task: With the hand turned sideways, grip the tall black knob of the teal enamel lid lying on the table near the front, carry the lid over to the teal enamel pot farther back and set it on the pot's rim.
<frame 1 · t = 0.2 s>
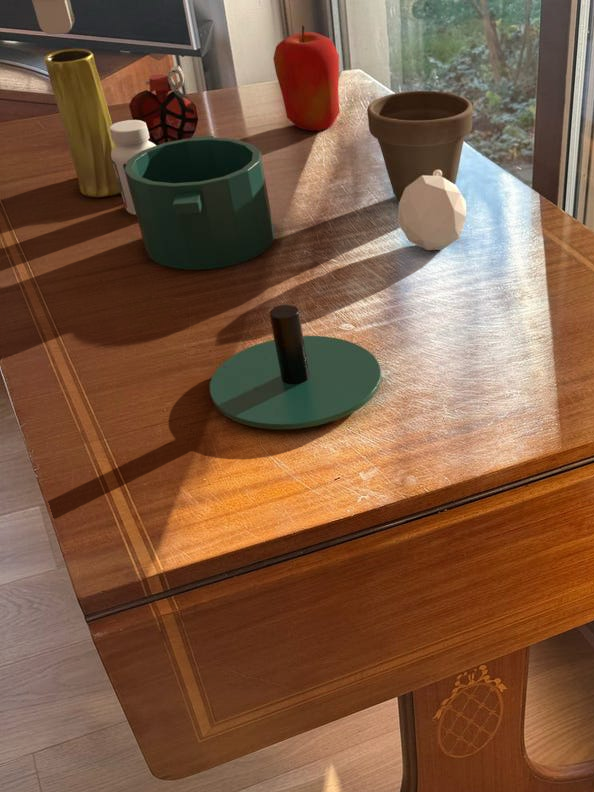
hand: (73, 12, 62), 29 cm above the table, tool pointing down, fingers open, 8 cm apart
flower pot: (425, 200, 114), on the table
ornament: (434, 247, 105), on the table
vase: (106, 190, 119), on the table
grenade: (174, 157, 126), on the table
pill bottle: (149, 209, 114), on the table
lid: (296, 382, 84), point 1 cm above the table
pot: (211, 242, 107), on the table
apple: (315, 127, 133), on the table
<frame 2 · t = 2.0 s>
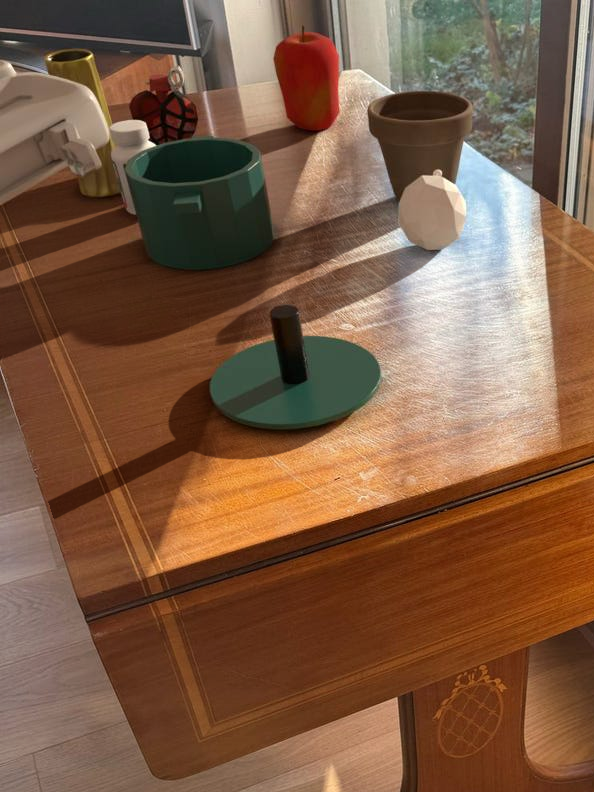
hand: (33, 193, 64), 20 cm above the table, tool horizontal, fingers open, 8 cm apart
nothing on the table moved.
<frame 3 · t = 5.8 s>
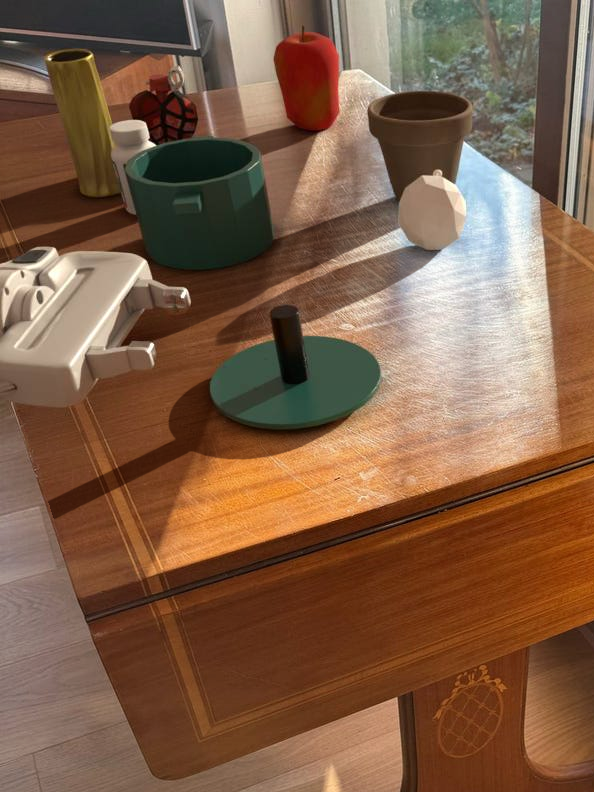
hand: (171, 327, 82), 5 cm above the table, tool horizontal, fingers open, 8 cm apart
nothing on the table moved.
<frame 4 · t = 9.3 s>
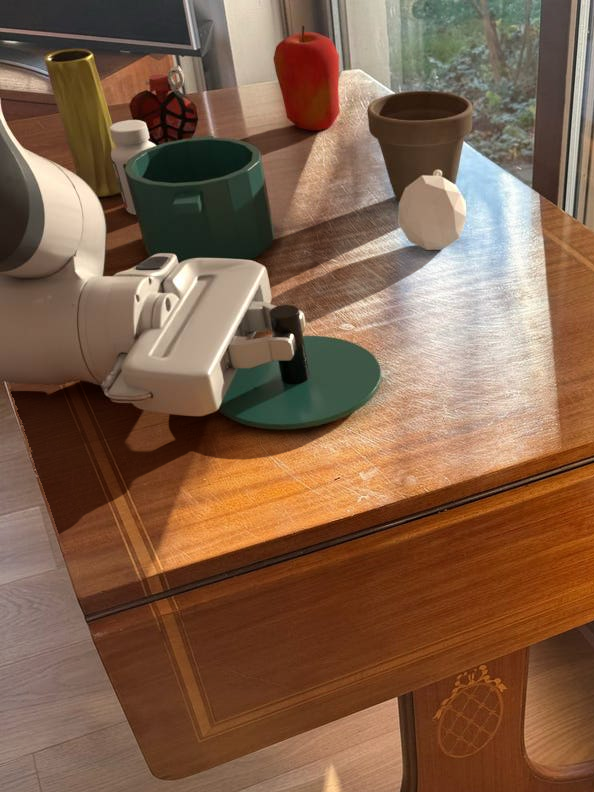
hand: (298, 334, 81), 5 cm above the table, tool horizontal, fingers closed on lid, 2 cm apart
lid: (296, 382, 84), point 1 cm above the table, touching gripper
everything else where it was.
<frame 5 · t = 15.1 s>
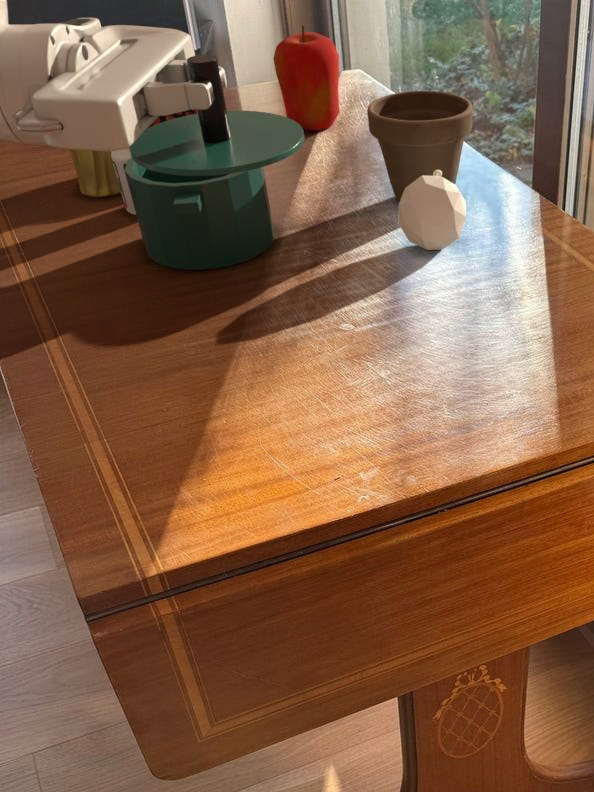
hand: (217, 87, 80), 20 cm above the table, tool horizontal, fingers closed on lid, 2 cm apart
lid: (218, 144, 84), point 15 cm above the table, touching gripper
everything else where it was.
when the fingers open (13 cm above the table, at t = 20.9 s): lid stays where it is, resting on pot.
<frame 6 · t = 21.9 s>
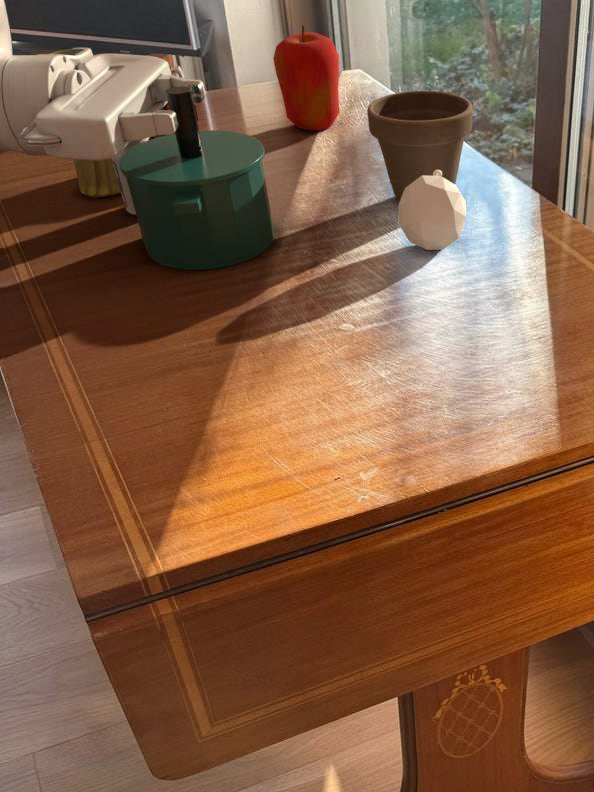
hand: (189, 106, 97), 14 cm above the table, tool horizontal, fingers open, 8 cm apart
lid: (193, 159, 101), point 8 cm above the table, touching pot
everything else where it was.
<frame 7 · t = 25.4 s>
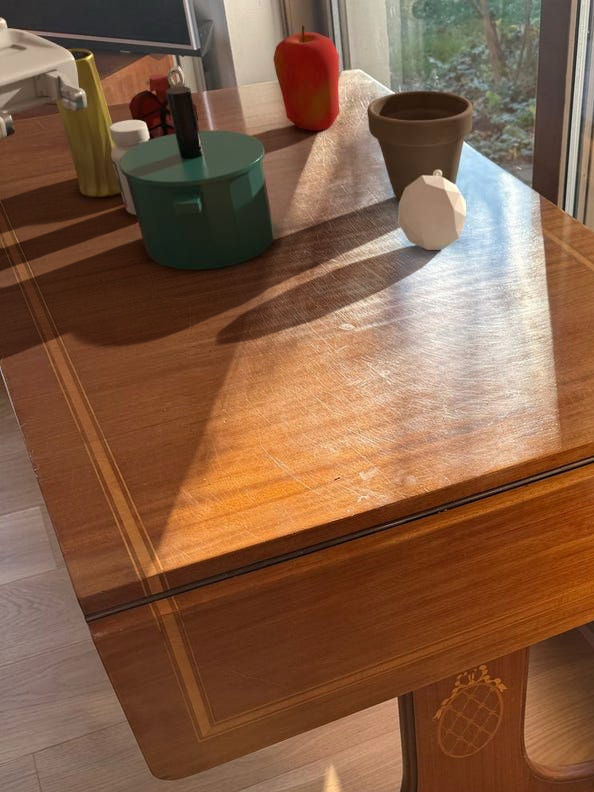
hand: (45, 114, 93), 15 cm above the table, tool horizontal, fingers open, 8 cm apart
nothing on the table moved.
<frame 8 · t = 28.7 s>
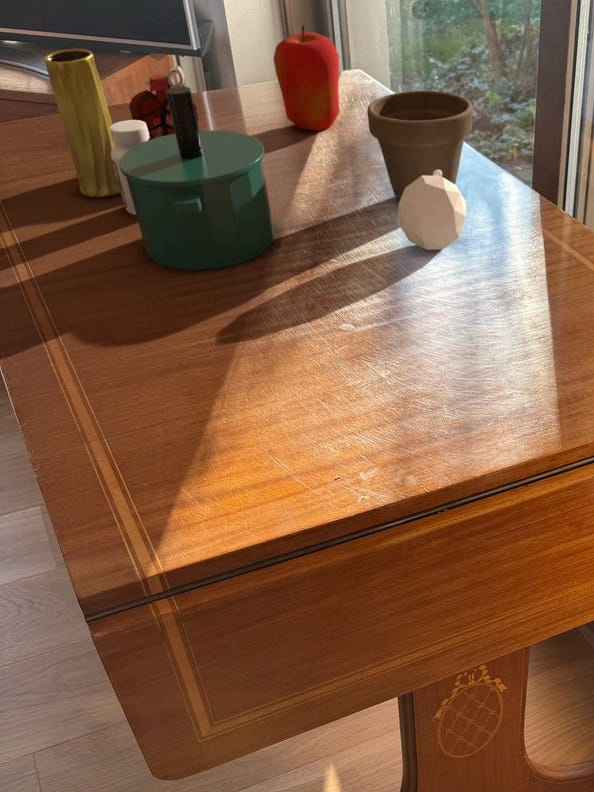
nothing on the table moved.
at the end: lid 0.2 cm off-centre on the pot, point 8.5 cm above the pot's base; lid tilted 0°; the gripper is holding nothing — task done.
